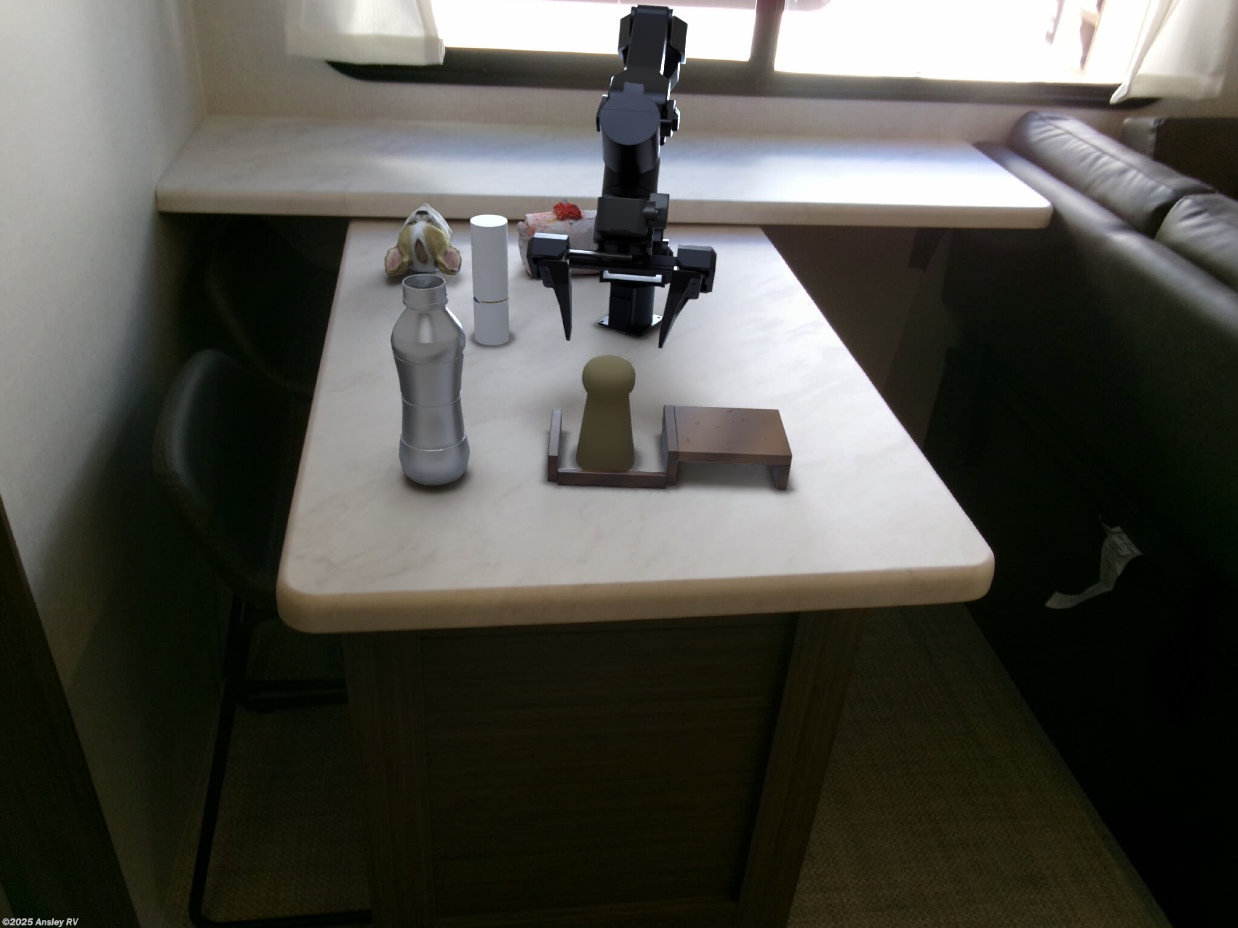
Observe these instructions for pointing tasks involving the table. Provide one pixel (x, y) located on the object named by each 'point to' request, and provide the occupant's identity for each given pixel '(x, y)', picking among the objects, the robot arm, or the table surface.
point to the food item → (560, 229)
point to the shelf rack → (692, 446)
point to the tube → (490, 279)
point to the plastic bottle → (430, 383)
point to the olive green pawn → (607, 415)
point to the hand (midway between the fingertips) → (613, 343)
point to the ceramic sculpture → (424, 245)
